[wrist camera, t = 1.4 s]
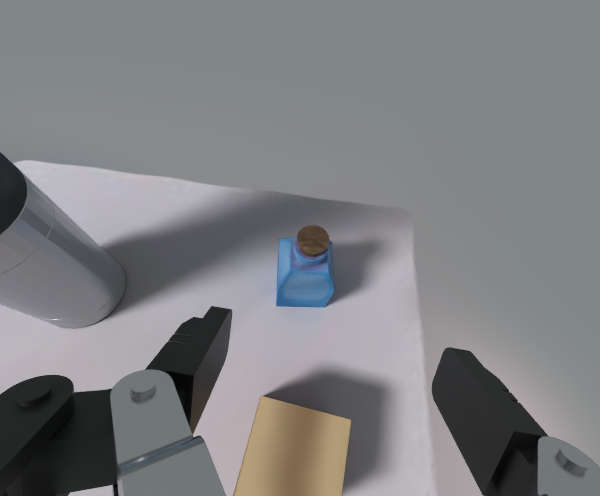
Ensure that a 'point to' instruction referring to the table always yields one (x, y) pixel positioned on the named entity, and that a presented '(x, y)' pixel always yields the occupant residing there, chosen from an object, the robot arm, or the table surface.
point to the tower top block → (294, 452)
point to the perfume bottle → (305, 269)
